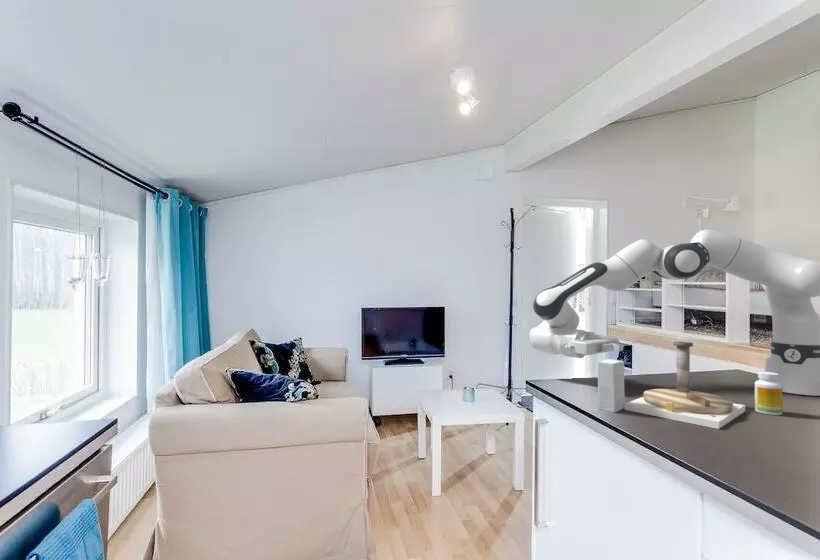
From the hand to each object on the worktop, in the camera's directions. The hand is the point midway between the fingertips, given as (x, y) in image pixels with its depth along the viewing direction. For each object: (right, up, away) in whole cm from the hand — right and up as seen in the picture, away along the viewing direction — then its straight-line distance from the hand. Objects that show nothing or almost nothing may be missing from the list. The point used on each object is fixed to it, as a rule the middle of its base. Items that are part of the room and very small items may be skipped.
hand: (621, 348), depth 134 cm
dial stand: (+6, -12, -20) cm, 25 cm away
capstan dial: (+7, -11, -20) cm, 24 cm away
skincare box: (-12, -12, -20) cm, 26 cm away
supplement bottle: (+26, -13, -22) cm, 36 cm away
